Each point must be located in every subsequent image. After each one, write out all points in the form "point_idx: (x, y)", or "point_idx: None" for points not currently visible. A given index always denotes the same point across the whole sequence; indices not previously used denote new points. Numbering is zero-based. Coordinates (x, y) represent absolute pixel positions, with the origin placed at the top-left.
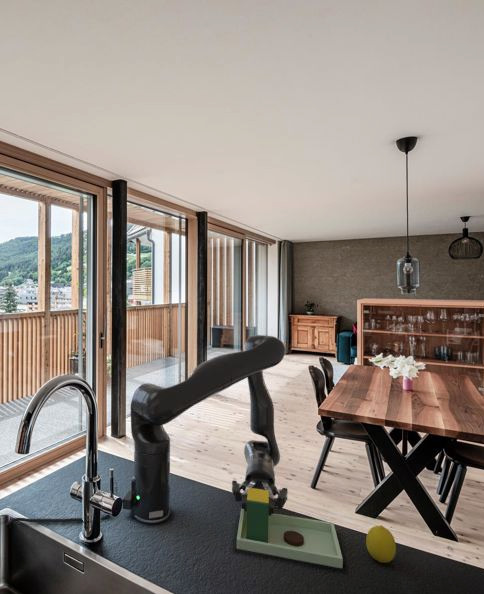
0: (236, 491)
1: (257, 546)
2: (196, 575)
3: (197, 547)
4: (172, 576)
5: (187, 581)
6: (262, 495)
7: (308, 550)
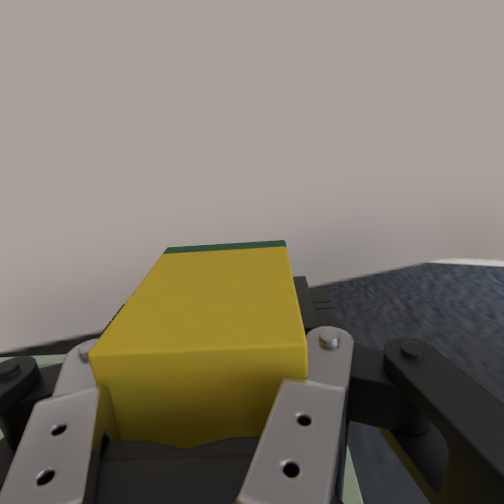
0: (415, 341)
1: None
2: (381, 289)
3: (453, 356)
4: (425, 278)
5: (388, 277)
6: (181, 286)
7: (56, 361)
